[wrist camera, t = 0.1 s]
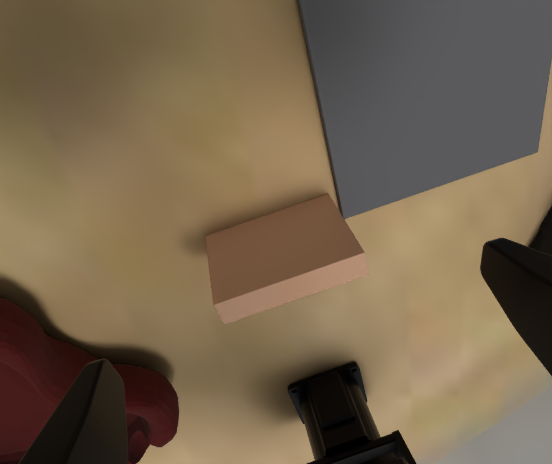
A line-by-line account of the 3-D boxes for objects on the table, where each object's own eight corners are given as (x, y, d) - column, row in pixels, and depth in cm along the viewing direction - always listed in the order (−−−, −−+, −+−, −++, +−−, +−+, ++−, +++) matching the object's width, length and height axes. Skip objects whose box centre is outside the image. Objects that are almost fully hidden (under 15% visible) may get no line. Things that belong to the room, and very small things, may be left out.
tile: (332, 213, 26) (368, 274, 22) (214, 254, 26) (224, 324, 21) (328, 193, 25) (364, 252, 21) (205, 235, 25) (213, 305, 21)
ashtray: (-184, 395, 26) (-247, 476, 22) (-35, 245, 23) (-79, 310, 19) (65, 464, 36) (52, 528, 32) (198, 367, 33) (201, 427, 29)
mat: (531, 148, 26) (537, 152, 26) (340, 214, 26) (343, 219, 26) (587, -268, 16) (601, -275, 15) (264, -159, 15) (267, -163, 15)
